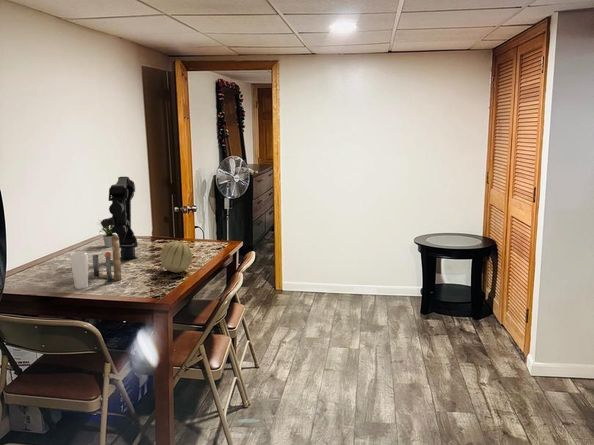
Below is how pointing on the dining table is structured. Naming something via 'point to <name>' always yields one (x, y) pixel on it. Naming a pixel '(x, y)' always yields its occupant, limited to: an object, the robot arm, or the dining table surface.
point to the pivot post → (95, 266)
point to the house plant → (107, 236)
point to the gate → (115, 259)
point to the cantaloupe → (176, 256)
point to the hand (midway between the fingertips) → (121, 243)
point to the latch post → (108, 268)
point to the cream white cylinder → (80, 269)
